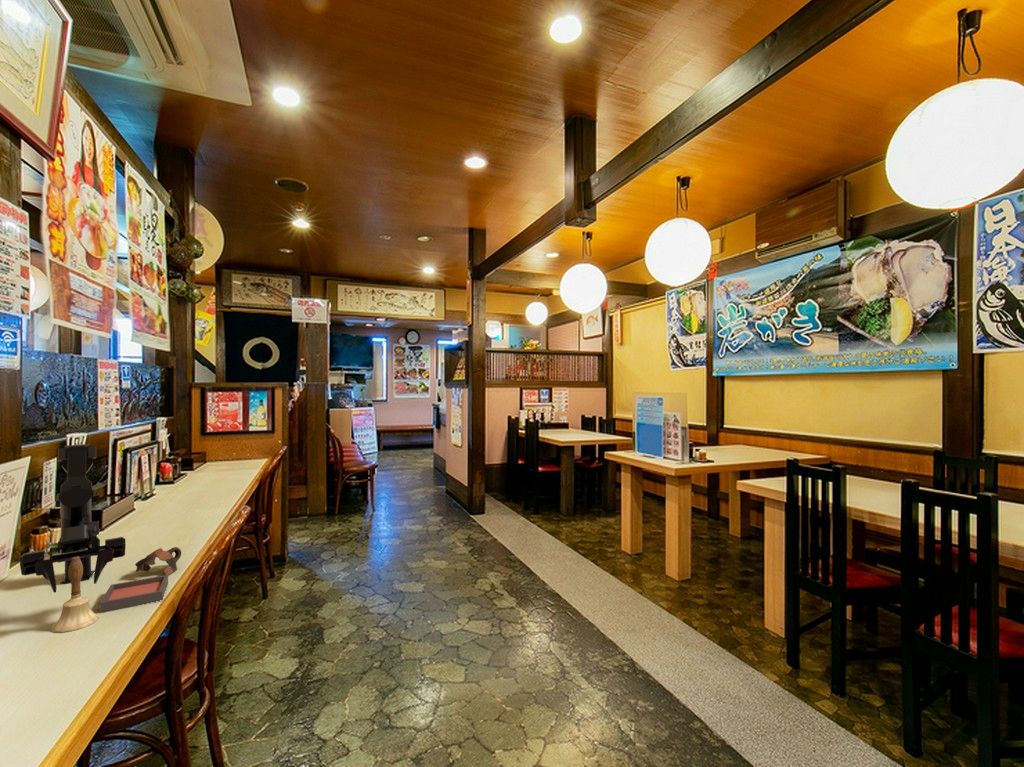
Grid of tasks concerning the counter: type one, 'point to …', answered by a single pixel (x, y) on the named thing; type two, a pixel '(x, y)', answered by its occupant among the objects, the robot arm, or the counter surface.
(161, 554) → the brown curved piece
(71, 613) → the hand bell
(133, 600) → the tray
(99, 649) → the counter surface
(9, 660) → the counter surface
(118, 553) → the robot arm
